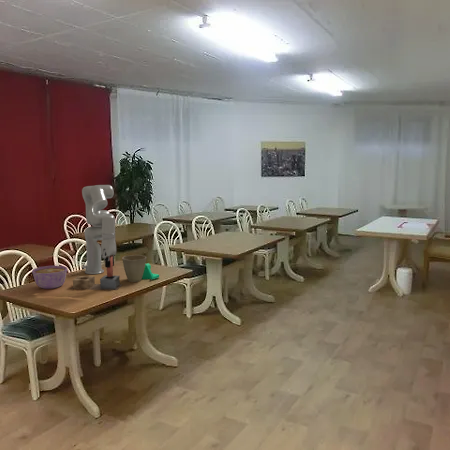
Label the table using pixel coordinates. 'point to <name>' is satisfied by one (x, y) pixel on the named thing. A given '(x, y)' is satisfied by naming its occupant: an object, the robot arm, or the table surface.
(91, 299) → the table surface
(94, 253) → the robot arm
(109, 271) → the pin
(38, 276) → the bowl of food
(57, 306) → the table surface
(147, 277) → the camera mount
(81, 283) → the mount
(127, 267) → the plant pot
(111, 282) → the socket
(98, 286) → the board
